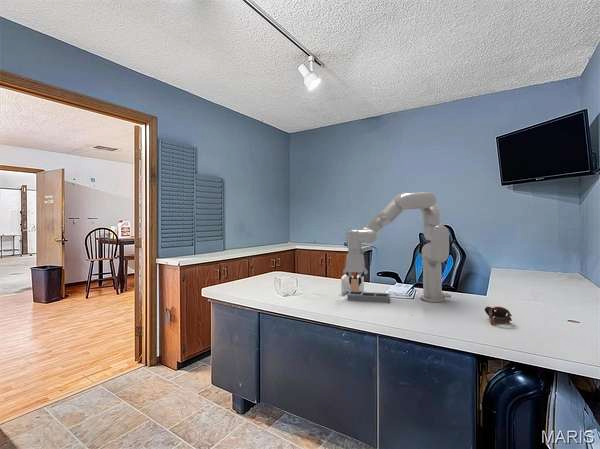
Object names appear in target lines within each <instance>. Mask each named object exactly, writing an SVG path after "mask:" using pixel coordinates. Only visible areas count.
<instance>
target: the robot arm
mask: <svg viewBox="0 0 600 449" xmlns="http://www.w3.org/2000/svg"><path fill="white" fill-rule="evenodd" d="M436 197H437V196H436V195H435V194H434V193H433V192H429V191H424V192H423V191H422V192H408V193H407V192H405V193H400V194H398V195H395V197H393V198H392V200H390V202H388V204H387V205H386V206H385V207H384V208H383V209H382V210H381V211H380V212H379V213H378V214H377V215H376V216H375V217H373V218H372V219H371V220H370V221H369V222H368V223H367V224H366V225H365V226H364V227H363V228H362V229H349V230H348V231H347V251H348V252H347V253H346V259H345V267H344V269H343V271H342V273H343V274H344V275H345V274H346V275H347V276H348V277H349V283H350V285H351V279H352V276H353V274H354V273H355V274H356V273H357V274H358V275H359V278H358V279H359V285H360V284H361V278H362V277H363V276H365V275H367V274H368V273H369V272H368V270H367V268H366V267H365V266H366V265H365V257H364V256H365V255H364V253H365V252H366V251H365V249H363V243H366V244H372V243H374V242H376V241H377V239H378V234H377V233H378V232H380V230H382V229H384V228H385V227H386V226H390V225H391V224H392V223H394V221H395V220H396V219H397V218H398V217H399V216H400V215H401V214H402V213H403V212H404V211H405V210H418V209H419V210H420V211H421V213H422V218H423V221H422V222H423V228H422V230H423V232H422V233H423V236H424V238H425V239H426V240H428V241H430V242H428V243H426V244H424V245H423V247H422V248H421V258H422V276H423V277H422V285H423V286H422V287H423V289H422V293H423V294H422V295H420V300H421V301H424V302H427V303H444V302H445V301H446V299H445V298H450V299H451V298H452V294H451V293H446V292H445V293H444V292H443V290H442V288H443V286H442V285H443V280H442V278H443V277H442V274H443V273H442V272H443V270H442V263H444V262H446V261H447V260H448V259H449V255H450V234H449V233H450V232H449V230H448V228H447V227H446V226H445V225H444V224H441V216H440V215H441V214H440V209H439V208H438V206H437V204H436V202H437V198H436ZM352 273H353V274H352Z"/></svg>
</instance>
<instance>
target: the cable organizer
mask: <svg viewBox="0 0 600 449" xmlns="http://www.w3.org/2000/svg"><path fill="white" fill-rule="evenodd" d="M351 276H352V278H353V276H354V275H351ZM356 276H357V278H359V274H357V275H356ZM364 276H365V275H364ZM364 276H363V277H362V278H361V284H360V285H359V291H364V290H365V284H364V283H365V281H364V280H365V279H364V278H365V277H364ZM340 282H341V287H340V288H341V294H342V295H346V294H348V292H349V290H350V291H351V285H350V283H349V277H348V276H347V275H346V274H345V273H344V274H343V275H342V276H341V278H340Z"/></svg>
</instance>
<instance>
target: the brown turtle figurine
mask: <svg viewBox="0 0 600 449" xmlns="http://www.w3.org/2000/svg"><path fill="white" fill-rule="evenodd" d="M484 311H485V314H486V315H487V316H488V318H489V320H490V321H489V323H490V324H491V325H492V324H494V325H504V324H507V323H510V322H512V316H513V315H512V313H511V312H510V311H509V309H508V308H505V307H503V306H493V307H491V306H486V307H484Z"/></svg>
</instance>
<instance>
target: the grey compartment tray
mask: <svg viewBox="0 0 600 449" xmlns="http://www.w3.org/2000/svg"><path fill="white" fill-rule="evenodd" d="M346 294H347V295H346V296H347V301H348V302H362V303H363V302H364V303H380V304H390V302H391V297H390V296H391V294H390V293H386V292H385V293H384V292H367V291H366V292H365V291H364V290H363V291H359V292H351V291H350V290H349V292H347V293H346Z"/></svg>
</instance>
